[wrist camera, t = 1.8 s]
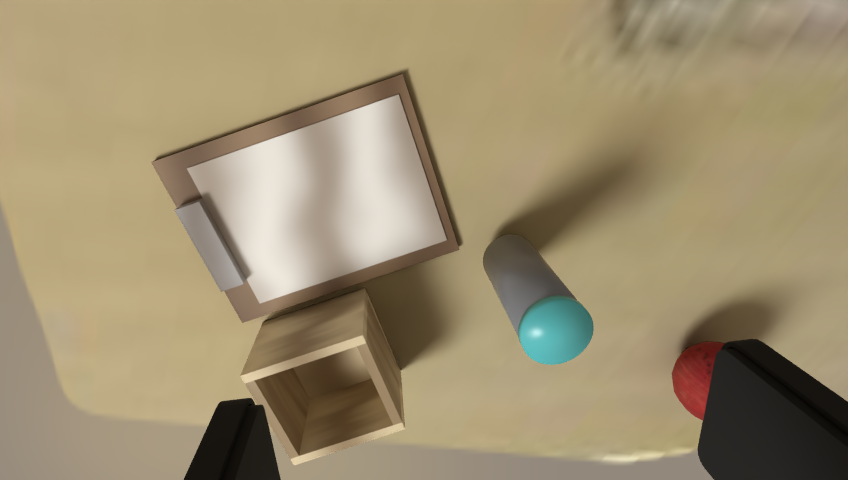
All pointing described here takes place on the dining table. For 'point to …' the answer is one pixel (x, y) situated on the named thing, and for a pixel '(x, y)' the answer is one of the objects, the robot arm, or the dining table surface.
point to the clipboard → (312, 200)
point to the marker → (537, 301)
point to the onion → (695, 376)
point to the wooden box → (326, 377)
